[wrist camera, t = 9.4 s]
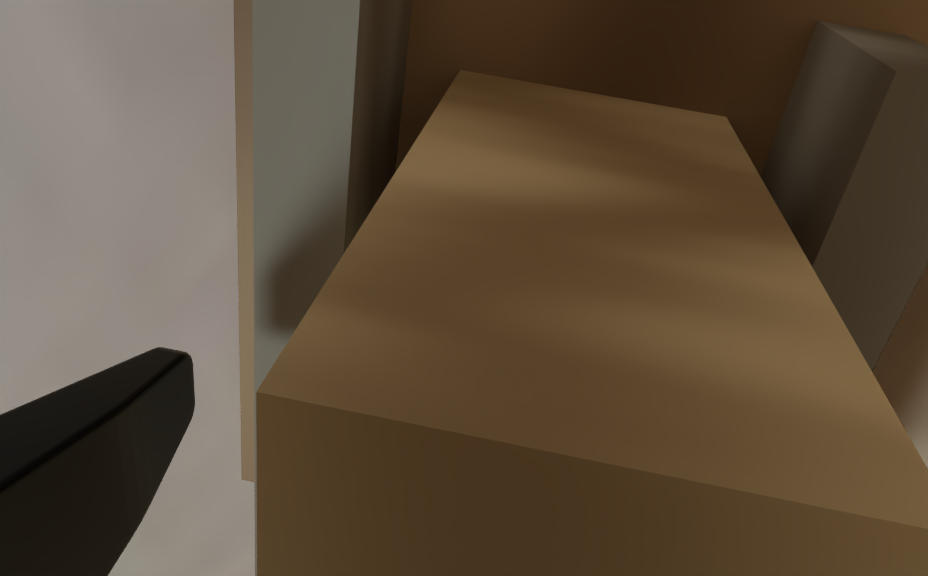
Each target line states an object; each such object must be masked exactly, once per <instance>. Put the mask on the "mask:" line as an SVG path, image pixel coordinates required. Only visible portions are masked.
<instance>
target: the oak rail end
mask: <svg viewBox="0 0 928 576" xmlns="http://www.w3.org/2000/svg"><path fill="white" fill-rule="evenodd" d="M256 436H257V576H928V469H927V467H926V465H925V464H924V462H923V460H922V458H921V457H920V455H919V453H918V451H917V450H916V448H915V446H914V444H913V443H912V441H911V439H910V437H909V436H908V434H907V432H906V430H905V429H904V427H903V425H902V423H901V422H900V420H899V418H898V416H897V415H896V413H895V411H894V409H893V408H892V406H891V404H890V402H889V401H888V399H887V397H886V395H885V394H884V392H883V390H882V388H881V387H880V385H879V383H878V381H877V380H876V378H875V376H874V374H873V373H872V371H871V369H870V367H869V366H868V364H867V362H866V360H865V359H864V357H863V355H862V353H861V352H860V350H859V348H858V346H857V345H856V343H855V341H854V339H853V338H852V336H851V334H850V332H849V331H848V329H847V327H846V325H845V324H844V322H843V320H842V318H841V317H840V315H839V313H838V311H837V310H836V308H835V306H834V304H833V303H832V301H831V299H830V297H829V296H828V294H827V292H826V290H825V289H824V287H823V285H822V283H821V282H820V280H819V278H818V276H817V275H816V273H815V271H814V269H813V268H812V266H811V264H810V262H809V261H808V259H807V257H806V255H805V254H804V252H803V250H802V248H801V247H800V245H799V243H798V241H797V240H796V238H795V236H794V234H793V233H792V231H791V229H790V227H789V226H788V224H787V222H786V220H785V219H784V217H783V215H782V213H781V212H780V210H779V208H778V206H777V205H776V203H775V201H774V199H773V198H772V196H771V194H770V193H769V191H768V189H767V187H766V186H765V184H764V182H763V180H762V179H761V177H760V175H759V173H758V172H757V170H756V168H755V166H754V165H753V163H752V161H751V159H750V158H749V156H748V154H747V152H746V151H745V149H744V147H743V145H742V144H741V142H740V140H739V138H738V137H737V135H736V133H735V131H734V130H733V128H732V126H731V124H730V123H729V121H728V119H727V117H724V116H718V115H713V114H707V113H701V112H696V111H690V110H684V109H679V108H673V107H667V106H662V105H656V104H650V103H645V102H639V101H633V100H628V99H622V98H617V97H611V96H605V95H600V94H594V93H588V92H583V91H577V90H571V89H566V88H560V87H554V86H549V85H543V84H537V83H532V82H526V81H520V80H515V79H509V78H503V77H498V76H492V75H486V74H481V73H475V72H469V71H464V70H460V71H459V73H458V74H457V76H456V77H455V79H454V81H453V82H452V84H451V85H450V87H449V89H448V90H447V92H446V93H445V95H444V96H443V98H442V100H441V101H440V103H439V104H438V106H437V107H436V109H435V111H434V112H433V114H432V115H431V117H430V119H429V120H428V122H427V123H426V125H425V126H424V128H423V130H422V131H421V133H420V134H419V136H418V137H417V139H416V141H415V142H414V144H413V145H412V147H411V148H410V150H409V152H408V153H407V155H406V156H405V158H404V160H403V161H402V163H401V164H400V166H399V167H398V169H397V171H396V172H395V174H394V175H393V177H392V178H391V180H390V182H389V183H388V185H387V186H386V188H385V190H384V191H383V193H382V194H381V196H380V197H379V199H378V201H377V202H376V204H375V205H374V207H373V208H372V210H371V212H370V213H369V215H368V216H367V218H366V220H365V221H364V223H363V224H362V226H361V227H360V229H359V231H358V232H357V234H356V235H355V237H354V238H353V240H352V242H351V243H350V245H349V246H348V248H347V249H346V251H345V253H344V254H343V256H342V257H341V259H340V261H339V262H338V264H337V265H336V267H335V268H334V270H333V272H332V273H331V275H330V276H329V278H328V279H327V281H326V283H325V284H324V286H323V287H322V289H321V291H320V292H319V294H318V295H317V297H316V298H315V300H314V302H313V303H312V305H311V306H310V308H309V309H308V311H307V313H306V314H305V316H304V317H303V319H302V320H301V322H300V324H299V325H298V327H297V328H296V330H295V332H294V333H293V335H292V336H291V338H290V339H289V341H288V343H287V344H286V346H285V347H284V349H283V350H282V352H281V354H280V355H279V357H278V358H277V360H276V362H275V363H274V365H273V366H272V368H271V369H270V371H269V373H268V374H267V376H266V377H265V379H264V380H263V382H262V384H261V385H260V387H259V388H258V390H257V392H256Z"/></svg>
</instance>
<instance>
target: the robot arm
mask: <svg viewBox="0 0 928 576" xmlns="http://www.w3.org/2000/svg"><path fill="white" fill-rule="evenodd" d="M194 407H195V395H194V376H193V362H192V358H191V356H190V355H189V354H188V353H186V352H183V351H178V350H173V349H168V348H163V347H158V348H155V349H152V350H150V351H147V352H145V353H143V354H140V355H138V356H136V357H133V358H131V359H129V360H126V361H124V362H122V363H119V364H117V365H115V366H112V367H110V368H108V369H105V370H103V371H101V372H98V373H96V374H94V375H92V376H89V377H87V378H85V379H82V380H80V381H78V382H75V383H73V384H71V385H68V386H66V387H64V388H61V389H59V390H57V391H54V392H52V393H50V394H47V395H45V396H43V397H41V398H38V399H36V400H34V401H31V402H29V403H27V404H24V405H22V406H20V407H17V408H15V409H13V410H10V411H8V412H6V413H3V414H1V415H0V576H108V574H109V573H110V571H111V570H112V568H113V566H114V565H115V563H116V562H117V560H118V559H119V557H120V555H121V554H122V552H123V551H124V549H125V547H126V546H127V544H128V543H129V541H130V540H131V538H132V536H133V535H134V533H135V531H136V530H137V528H138V526H139V525H140V523H141V521H142V519H143V517H144V515H145V514H146V512H147V510H148V508H149V506H150V504H151V502H152V500H153V498H154V496H155V494H156V492H157V489H158V487H159V485H160V483H161V481H162V479H163V477H164V475H165V473H166V471H167V469H168V467H169V465H170V463H171V461H172V459H173V457H174V454H175V452H176V450H177V448H178V446H179V444H180V442H181V440H182V438H183V436H184V434H185V432H186V430H187V428H188V426H189V424H190V421H191V419H192V416H193V412H194Z"/></svg>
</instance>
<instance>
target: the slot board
mask: <svg viewBox="0 0 928 576" xmlns="http://www.w3.org/2000/svg"><path fill="white" fill-rule="evenodd" d="M234 49H235V108H236V167H237V226H238V285H239V344H240V403H241V462H242V480H247V481H252V482H255V576H257V436H256V392H257V390H258V388H259V387H260V385H261V384H262V382H263V380H264V379H265V377H266V376H267V374H268V373H269V371H270V369H271V368H272V366H273V365H274V363H275V362H276V360H277V358H278V357H279V355H280V354H281V352H282V350H283V349H284V347H285V346H286V344H287V343H288V341H289V339H290V338H291V336H292V335H293V333H294V332H295V330H296V328H297V327H298V325H299V324H300V322H301V320H302V319H303V317H304V316H305V314H306V313H307V311H308V309H309V308H310V306H311V305H312V303H313V302H314V300H315V298H316V297H317V295H318V294H319V292H320V291H321V289H322V287H323V286H324V284H325V283H326V281H327V279H328V278H329V276H330V275H331V273H332V272H333V270H334V268H335V267H336V265H337V264H338V262H339V261H340V259H341V257H342V256H343V254H344V253H345V251H346V249H347V248H348V246H349V245H350V243H351V242H352V240H353V238H354V237H355V235H356V234H357V232H358V231H359V229H360V227H361V226H362V224H363V223H364V221H365V220H366V218H367V216H368V215H369V213H370V212H371V210H372V208H373V207H374V205H375V204H376V202H377V201H378V199H379V197H380V196H381V194H382V193H383V191H384V190H385V188H386V186H387V185H388V183H389V182H390V180H391V178H392V177H393V175H394V174H395V172H396V171H397V169H398V167H399V166H400V164H401V163H402V161H403V160H404V158H405V156H406V155H407V153H408V152H409V150H410V148H411V147H412V145H413V144H414V142H415V141H416V139H417V137H418V136H419V134H420V133H421V131H422V130H423V128H424V126H425V125H426V123H427V122H428V120H429V119H430V117H431V115H432V114H433V112H434V111H435V109H436V107H437V106H438V104H439V103H440V101H441V100H442V98H443V96H444V95H445V93H446V92H447V90H448V89H449V87H450V85H451V84H452V82H453V81H454V79H455V77H456V76H457V74H458V73H459V71H460V70H464V71H469V72H475V73H481V74H486V75H492V76H498V77H503V78H509V79H515V80H520V81H526V82H532V83H537V84H543V85H549V86H554V87H560V88H566V89H571V90H577V91H583V92H588V93H594V94H600V95H605V96H611V97H617V98H622V99H628V100H633V101H639V102H645V103H650V104H656V105H662V106H667V107H673V108H679V109H684V110H690V111H696V112H701V113H707V114H713V115H718V116H724V117H727V119H728V121H729V123H730V124H731V126H732V128H733V130H734V131H735V133H736V135H737V137H738V138H739V140H740V142H741V144H742V145H743V147H744V149H745V151H746V152H747V154H748V156H749V158H750V159H751V161H752V163H753V165H754V166H755V168H756V170H757V172H758V173H759V175H760V177H761V179H762V180H763V182H764V184H765V186H766V187H767V189H768V191H769V193H770V194H771V196H772V198H773V199H774V201H775V203H776V205H777V206H778V208H779V210H780V212H781V213H782V215H783V217H784V219H785V220H786V222H787V224H788V226H789V227H790V229H791V231H792V233H793V234H794V236H795V238H796V240H797V241H798V243H799V245H800V247H801V248H802V250H803V252H804V254H805V255H806V257H807V259H808V261H809V262H810V264H811V266H812V268H813V269H814V271H815V273H816V275H817V276H818V278H819V280H820V282H821V283H822V285H823V287H824V289H825V290H826V292H827V294H828V296H829V297H830V299H831V301H832V303H833V304H834V306H835V308H836V310H837V311H838V313H839V315H840V317H841V318H842V320H843V322H844V324H845V325H846V327H847V329H848V331H849V332H850V334H851V336H852V338H853V339H854V341H855V343H856V345H857V346H858V348H859V350H860V352H861V353H862V355H863V357H864V359H865V360H866V362H867V364H868V366H869V367H870V369H871V371H872V370H873V368H874V367H875V365H876V363H877V361H878V359H879V357H880V355H881V353H882V351H883V349H884V347H885V345H886V343H887V341H888V340H889V338H890V336H891V334H892V332H893V330H894V328H895V326H896V324H897V322H898V320H899V318H900V316H901V315H902V313H903V311H904V309H905V307H906V305H907V303H908V301H909V299H910V297H911V295H912V293H913V291H914V289H915V288H916V286H917V284H918V282H919V280H920V278H921V276H922V274H923V272H924V270H925V268H926V266H927V264H928V0H234Z"/></svg>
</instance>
